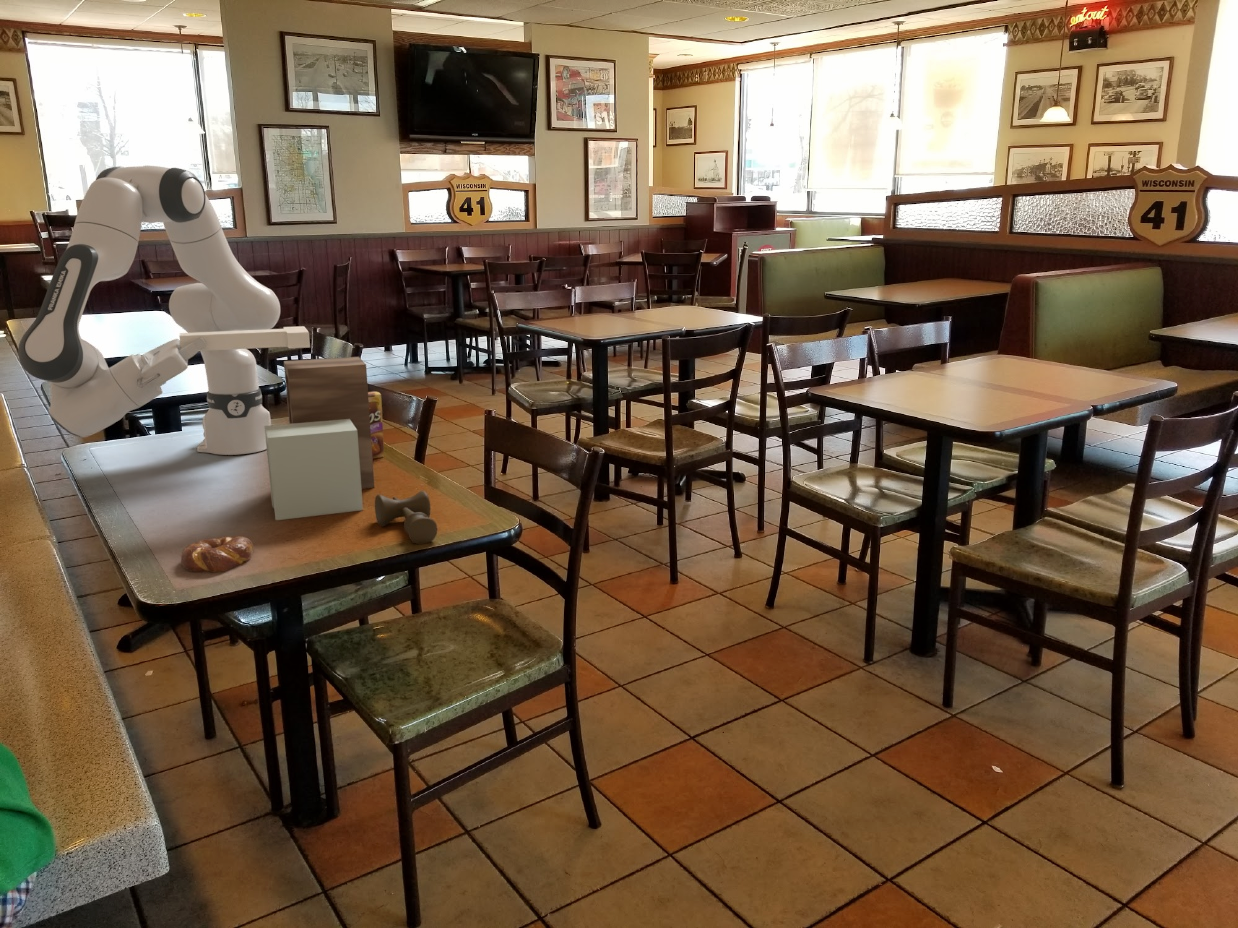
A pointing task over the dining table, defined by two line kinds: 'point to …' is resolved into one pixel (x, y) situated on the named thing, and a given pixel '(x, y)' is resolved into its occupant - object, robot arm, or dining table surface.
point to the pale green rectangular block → (314, 468)
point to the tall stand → (332, 399)
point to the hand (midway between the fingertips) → (204, 339)
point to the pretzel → (216, 554)
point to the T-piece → (250, 338)
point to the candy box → (376, 424)
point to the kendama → (408, 515)
